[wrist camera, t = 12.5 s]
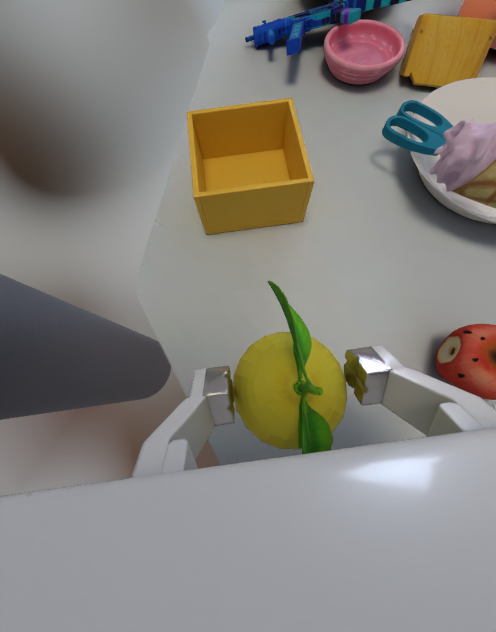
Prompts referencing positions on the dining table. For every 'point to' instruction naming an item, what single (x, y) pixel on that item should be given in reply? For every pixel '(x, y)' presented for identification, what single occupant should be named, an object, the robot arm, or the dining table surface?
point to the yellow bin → (249, 166)
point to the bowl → (455, 105)
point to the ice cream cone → (469, 161)
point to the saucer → (363, 51)
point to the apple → (470, 360)
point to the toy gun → (313, 21)
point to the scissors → (417, 128)
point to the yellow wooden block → (447, 49)
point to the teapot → (480, 11)
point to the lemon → (290, 387)
